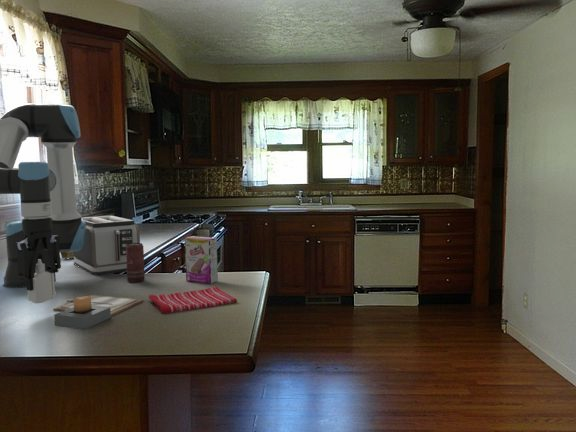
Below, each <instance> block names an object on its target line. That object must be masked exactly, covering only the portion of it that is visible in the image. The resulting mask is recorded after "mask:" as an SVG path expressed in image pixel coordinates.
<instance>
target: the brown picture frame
mask: <svg viewBox="0 0 576 432" xmlns="http://www.w3.org/2000/svg"><path fill="white" fill-rule="evenodd" d="M88 296H90V297H91V305H92V306H102V307H110V311H111V317H112V316H114V315H116V314H119V313H121V312H123V311H125V310H128V309H130V308H132V307H134V306H136V305H139V304H141V303H144V302H145V300H144V299H142V298H130V297H120V296H110V295H109V296H107V295H97V294H90V295H88ZM73 299H74V298H70V299H69V298H68V299H67V300H66V302H67V303H64V304H62V305H58V306H56V307H54V308H53V311H54V312H55V311H56V312H62V311H65V310H68V309H70V308H73V307H74V300H73Z"/></svg>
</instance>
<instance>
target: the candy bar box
mask: <svg viewBox="0 0 576 432" xmlns="http://www.w3.org/2000/svg"><path fill="white" fill-rule="evenodd" d="M184 247H185V248H184V249H185V252H184V253H185V280H186V282H190V283H191V282H192V283H198V284H199V283H200V284H207V285H213V284H214V283H217V282H219V280H218V279H219V277H218V276H219V275H218V271H219V269H218V238H217V237H208V236H207V237H206V236H197V235H191V236H186V237H185V238H184Z"/></svg>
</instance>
